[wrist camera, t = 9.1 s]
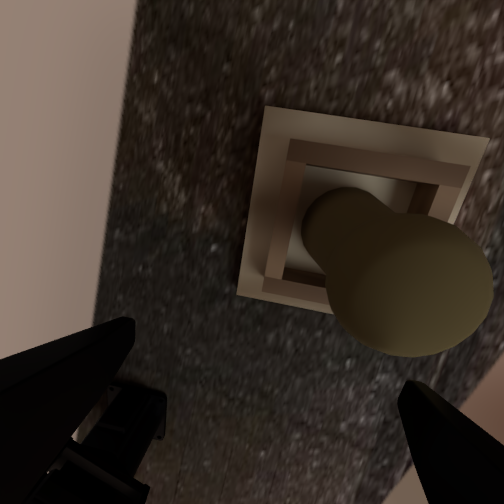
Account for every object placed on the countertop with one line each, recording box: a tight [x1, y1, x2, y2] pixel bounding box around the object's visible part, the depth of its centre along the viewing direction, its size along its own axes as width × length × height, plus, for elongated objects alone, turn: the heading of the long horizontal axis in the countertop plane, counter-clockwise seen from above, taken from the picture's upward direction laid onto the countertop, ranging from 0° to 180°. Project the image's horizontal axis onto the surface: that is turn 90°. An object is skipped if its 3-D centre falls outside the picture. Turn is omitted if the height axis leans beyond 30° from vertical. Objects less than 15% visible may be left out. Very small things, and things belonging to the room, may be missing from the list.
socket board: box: [237, 106, 490, 314], centre depth 17 cm, size 14×14×4 cm
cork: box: [301, 187, 493, 357], centre depth 13 cm, size 6×6×11 cm
